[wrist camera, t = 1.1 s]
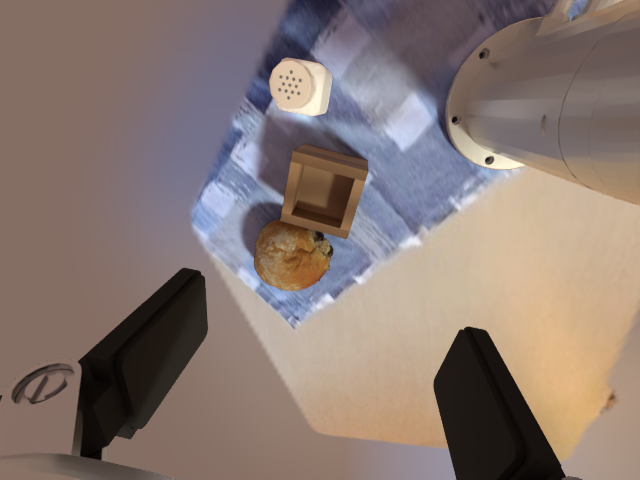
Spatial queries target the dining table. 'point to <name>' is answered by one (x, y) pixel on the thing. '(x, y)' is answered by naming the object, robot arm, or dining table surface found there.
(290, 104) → the pepper shaker
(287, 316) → the dining table surface
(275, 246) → the bread roll
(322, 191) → the wooden open box
